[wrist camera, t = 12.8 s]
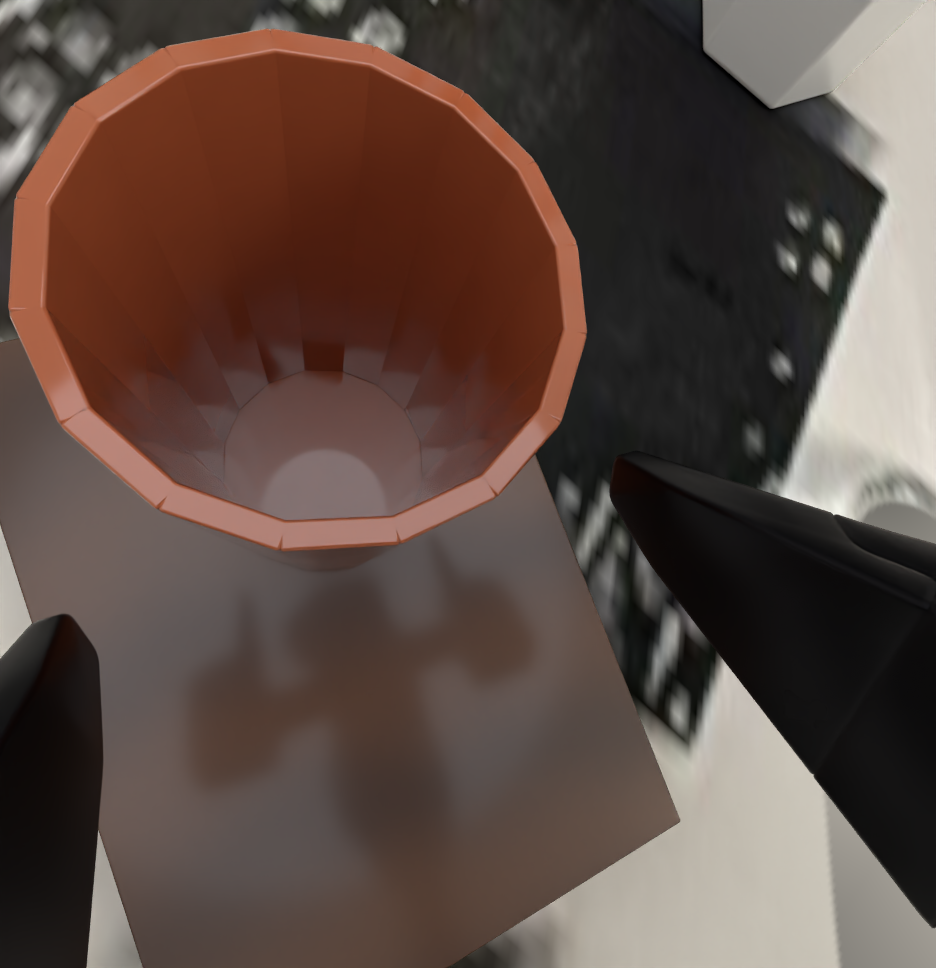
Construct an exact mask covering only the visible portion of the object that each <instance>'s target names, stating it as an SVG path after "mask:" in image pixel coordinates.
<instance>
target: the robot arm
mask: <svg viewBox="0 0 936 968" xmlns="http://www.w3.org/2000/svg"><path fill="white" fill-rule="evenodd" d="M610 498H611V501H612V503H613V505H614V507H615V508H616V510H617V512H618V513H619V515H620V517H621V518H622V520H623V521H624V523H625V525H626V526H627V528H628V530H629V531H630V533H631V534H632V536H633V538H634V539H635V541H636V543H637V544H638V546H639V548H640V549H641V551H642V552H643V554H644V556H645V557H646V559H647V560H648V562H649V563H650V565H651V566H652V568H653V569H654V570H655V572H656V573H657V574H658V576H659V577H660V578H661V580H662V581H663V582H664V584H665V585H666V586H667V587H668V589H669V590H670V591H671V593H672V594H673V595H674V597H675V598H676V599H677V600H678V602H679V603H680V604H681V606H682V607H683V608H684V609H685V611H686V612H687V613H688V615H689V616H690V617H691V619H692V620H693V621H694V622H695V624H696V625H697V626H698V628H699V629H700V630H701V631H702V633H703V634H704V635H705V637H706V638H707V639H708V641H709V642H710V643H711V644H712V646H713V647H714V648H715V650H716V651H717V652H718V653H719V655H720V656H721V657H722V659H723V660H724V661H725V663H726V664H727V665H728V666H729V668H730V669H731V670H732V672H733V673H734V674H735V675H736V677H737V678H738V679H739V681H740V682H741V683H742V685H743V686H744V687H745V688H746V690H747V691H748V692H749V694H750V695H751V696H752V697H753V699H754V700H755V701H756V703H757V704H758V705H759V707H760V708H761V709H762V710H763V712H764V713H765V714H766V716H767V717H768V718H769V719H770V721H771V722H772V723H773V725H774V726H775V727H776V729H777V730H778V731H779V732H780V734H781V735H782V736H783V738H784V739H785V740H786V742H787V743H788V744H789V745H790V747H791V748H792V749H793V751H794V752H795V753H796V754H797V756H798V757H799V758H800V760H801V761H802V762H803V764H804V765H805V766H806V767H807V769H808V770H809V771H810V773H811V774H814V778H815V780H816V781H817V782H818V783H819V785H820V786H821V787H822V789H823V790H824V791H825V792H826V794H827V795H828V796H829V798H830V799H831V800H832V801H833V803H834V804H835V805H836V807H837V808H838V809H839V811H840V812H841V813H842V814H843V816H844V817H845V818H846V819H847V821H848V822H849V824H850V825H851V826H852V827H853V828H854V830H855V831H856V833H857V834H858V835H859V836H860V838H861V839H862V840H863V842H864V843H865V844H866V845H867V847H868V848H869V849H870V851H871V852H872V853H873V855H874V856H875V857H876V858H877V860H878V861H879V862H880V864H881V865H882V866H883V867H884V869H885V870H886V871H887V873H888V874H889V875H890V876H891V878H892V879H893V880H894V882H895V883H896V884H897V886H898V887H899V888H900V890H901V891H902V892H903V893H904V895H905V896H906V897H907V899H908V900H909V901H910V903H911V904H912V905H913V906H914V907H915V909H916V910H917V911H918V913H919V914H920V915H921V916H922V918H923V919H924V920H925V921H926V922H927V923H928V924H929V925H930V926H931V927H932V928H936V544H935V543H931V542H927V541H924V540H920V539H917V538H913V537H910V536H906V535H902V534H899V533H895V532H891V531H888V530H885V529H882V528H878V527H875V526H872V525H869V524H865V523H862V522H859V521H856V520H853V519H850V518H846V517H843V516H840V515H833V514H832V513H831V512H828V511H824V510H821V509H818V508H815V507H812V506H809V505H806V504H803V503H799V502H796V501H793V500H790V499H787V498H784V497H781V496H777V495H774V494H771V493H768V492H765V491H762V490H759V489H756V488H752V487H749V486H746V485H743V484H740V483H737V482H734V481H731V480H727V479H724V478H721V477H718V476H715V475H712V474H709V473H706V472H703V471H699V470H696V469H693V468H690V467H687V466H684V465H681V464H678V463H674V462H671V461H668V460H665V459H662V458H659V457H656V456H653V455H649V454H646V453H643V452H640V451H632V452H628V453H625V454H621V455H619V456H617V457H616V458H615V460H614V463H613V469H612V476H611V483H610ZM103 761H104V759H103V729H102V708H101V687H100V666H99V658H98V654H97V652H96V649H95V647H94V646H93V644H92V643H91V642H90V640H89V639H88V637H87V636H86V635H85V633H84V632H83V630H82V629H81V627H80V626H79V625H78V623H77V622H76V620H75V619H74V618H73V617H72V616H71V615H69V614H64V613H63V614H59V615H55V616H51V617H48V618H44V619H41V620H38V621H36V622H34V623H32V624H31V625H30V626H29V627H28V628H27V629H26V630H25V631H24V633H23V634H22V635H21V636H20V637H19V638H18V639H17V641H16V642H15V643H14V644H13V645H12V646H11V647H10V648H9V650H8V651H7V652H6V653H5V654H4V655H3V656H2V657H1V659H0V968H86V966H87V954H88V943H89V931H90V919H91V908H92V896H93V884H94V872H95V861H96V849H97V837H98V826H99V814H100V802H101V791H102V779H103Z"/></svg>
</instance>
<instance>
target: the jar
mask: <svg viewBox="0 0 936 968" xmlns="http://www.w3.org/2000/svg"><path fill="white" fill-rule="evenodd" d="M926 1H927V0H702V6H703V50H704V52H705V53H706V54H707V55H708V56H709V57H711V58H712V59H713V60H714V61H715V62H716V63H718V64H719V65H720V66H721V67H722V68H723V69H725V70H726V71H727V72H728V73H729V74H730V75H732V76H733V77H734V78H735V79H736V80H737V81H738V82H740V83H741V84H742V85H743V86H744V87H745V88H746V89H748V90H749V91H750V92H751V93H752V94H753V95H755V96H756V97H757V98H758V99H759V100H760V101H761V102H762V103H764V104H765V105H766V106H767V107H768V108H770V109H774V108H777V107H781V106H784V105H788V104H791V103H795V102H798V101H802V100H805V99H809V98H812V97H816V96H819V95H823V94H826V93H830V92H832V91H834V90H835V89H836V88H837V87H838V86H839V85H840V84H841V83H842V82H843V81H844V80H845V79H846V78H848V77H849V76H850V75H851V74H852V73H853V72H854V71H855V70H856V69H857V68H858V67H859V66H860V65H861V64H862V63H863V62H864V61H865V60H866V59H867V58H868V57H869V56H870V55H871V54H872V53H873V52H874V51H875V50H877V49H878V48H879V47H880V46H881V45H882V44H883V43H884V42H885V41H886V40H887V39H888V38H889V37H890V36H891V35H892V34H893V33H894V32H895V31H896V30H897V29H898V28H899V27H900V26H901V25H902V24H903V23H905V22H906V21H907V20H908V19H909V18H910V17H911V16H912V15H913V14H914V13H915V12H916V11H917V10H918V9H919V8H920V7H921V6H922V5H923V4H924V3H925V2H926Z"/></svg>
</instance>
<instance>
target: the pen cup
mask: <svg viewBox="0 0 936 968" xmlns="http://www.w3.org/2000/svg"><path fill="white" fill-rule="evenodd" d="M16 197H17V198H16V199H15V202H14V219H13V237H12V254H11V271H10V288H9V306H8V309H9V311H10V318H11V320H12V322H13V324H14V326H15V329H16V331H17V333H18V335H19V338H20V340H21V342H22V344H23V346H24V349H25V351H26V353H27V355H28V358H29V360H30V362H31V364H32V366H33V369H34V371H35V373H36V375H37V378H38V380H39V382H40V384H41V386H42V389H43V391H44V393H45V395H46V398H47V400H48V402H49V404H50V406H51V409H52V411H53V413H54V415H55V418H56V420H57V422H58V423H59V424H61V427H62V428H63V429H64V430H65V431H66V432H67V433H68V434H69V435H71V436H72V437H73V438H74V439H75V440H76V441H77V442H79V443H80V444H81V445H82V446H83V447H84V448H86V449H87V450H88V451H89V452H90V453H91V454H92V455H94V456H95V457H96V458H97V459H98V460H99V461H100V462H102V463H103V464H104V465H105V466H106V467H107V468H108V469H110V470H111V471H112V472H113V473H114V474H115V475H117V476H118V477H119V478H120V479H121V480H122V481H123V482H125V483H126V484H127V485H128V486H129V487H130V488H131V489H133V490H134V491H135V492H136V493H137V494H138V495H139V496H141V497H142V498H143V499H144V500H145V501H146V502H148V503H149V504H150V505H151V506H152V507H153V508H155V509H157V510H159V511H160V512H162V513H164V514H166V515H169V516H171V517H173V518H176V519H178V520H180V521H183V522H185V523H187V524H190V525H192V526H194V527H197V528H199V529H201V530H204V531H206V532H208V533H211V534H213V535H215V536H217V537H220V538H222V539H224V540H227V541H229V542H231V543H234V544H236V545H238V546H241V547H243V548H245V549H248V550H250V551H252V552H255V553H257V554H259V555H262V556H264V557H266V558H269V559H272V560H275V561H278V562H281V563H284V564H287V565H290V566H293V567H296V568H299V569H302V570H305V571H319V570H335V569H349V568H354V567H356V566H358V565H360V564H362V563H364V562H367V561H369V560H371V559H373V558H375V557H377V556H379V555H381V554H383V553H385V552H387V551H389V550H391V549H393V548H395V547H398V546H400V545H402V544H404V543H406V542H408V541H410V540H412V539H414V538H416V537H418V536H420V535H422V534H424V533H426V532H428V531H430V530H433V529H435V528H437V527H439V526H441V525H443V524H445V523H447V522H449V521H451V520H453V519H455V518H457V517H459V516H461V515H463V514H466V513H468V512H470V511H472V510H474V509H476V508H478V507H480V506H482V505H484V504H486V503H488V502H490V501H492V500H494V499H495V498H496V497H498V496H500V494H501V493H502V492H503V491H504V490H505V489H506V487H507V486H508V485H509V484H510V483H511V482H512V480H513V479H514V478H515V477H516V476H517V475H518V473H519V472H520V471H521V470H522V469H523V468H524V466H525V465H526V464H527V463H528V462H529V461H530V459H531V458H532V457H533V456H534V455H535V454H536V452H537V451H538V450H539V449H540V448H541V446H542V445H543V444H544V443H545V442H546V441H547V439H548V438H549V437H550V436H551V435H552V434H553V432H554V431H555V430H556V429H557V428H558V427H559V424H560V422H561V421H562V418H563V415H564V411H565V408H566V405H567V401H568V398H569V395H570V391H571V388H572V385H573V381H574V378H575V374H576V371H577V368H578V364H579V361H580V358H581V354H582V351H583V347H584V344H585V341H586V333H587V329H586V320H585V311H584V301H583V292H582V283H581V274H580V265H579V255H578V247H577V245H576V241H575V239H574V237H573V235H572V233H571V231H570V229H569V227H568V225H567V223H566V221H565V219H564V217H563V215H562V213H561V211H560V209H559V207H558V205H557V203H556V201H555V199H554V197H553V195H552V193H551V191H550V189H549V187H548V185H547V183H546V181H545V179H544V177H543V175H542V173H541V171H540V169H539V167H538V165H537V163H536V162H534V160H533V158H532V157H531V156H530V155H529V154H528V153H527V152H526V151H525V150H524V149H523V148H522V147H521V146H520V145H519V144H518V143H517V142H516V141H515V140H514V139H513V138H512V137H511V136H510V135H509V134H508V133H507V132H506V131H505V130H504V129H503V128H502V127H501V126H500V125H499V124H498V123H497V122H495V121H494V120H493V119H492V118H491V117H490V116H489V115H488V114H487V113H486V112H485V111H484V110H483V109H482V108H481V107H480V106H479V105H478V104H477V103H476V102H475V101H474V100H473V99H472V98H471V97H470V96H469V95H468V94H467V93H465V94H464V91H463V90H461V89H459V88H457V87H455V86H453V85H451V84H449V83H447V82H445V81H443V80H441V79H439V78H437V77H435V76H433V75H431V74H429V73H428V72H426V71H424V70H422V69H420V68H418V67H416V66H414V65H412V64H410V63H408V62H406V61H404V60H402V59H400V58H398V57H396V56H394V55H392V54H390V53H388V52H386V51H384V50H382V49H381V48H379V47H373V46H372V45H370V44H364V43H357V42H351V41H345V40H339V39H333V38H327V37H321V36H315V35H309V34H303V33H297V32H291V31H284V30H278V29H271V31H270V30H269V29H262V30H256V31H250V32H244V33H239V34H233V35H227V36H222V37H216V38H210V39H204V40H199V41H193V42H187V43H182V44H176V45H170V46H166V47H165V49H164V48H161V49H159V50H157V51H156V52H154V53H153V54H151V55H150V56H148V57H146V58H145V59H143V60H142V61H140V62H138V63H137V64H135V65H134V66H132V67H130V68H129V69H127V70H126V71H124V72H122V73H121V74H119V75H118V76H116V77H115V78H113V79H111V80H110V81H108V82H107V83H105V84H103V85H102V86H100V87H99V88H97V89H95V90H94V91H92V92H91V93H89V94H88V95H86V96H84V97H83V98H81V99H80V100H78V101H76V102H75V103H74V106H71V107H70V109H69V110H68V112H67V113H66V115H65V117H64V118H63V120H62V122H61V123H60V125H59V126H58V128H57V130H56V131H55V133H54V134H53V136H52V138H51V139H50V141H49V143H48V144H47V146H46V147H45V149H44V151H43V152H42V154H41V155H40V157H39V159H38V160H37V162H36V164H35V165H34V167H33V168H32V170H31V172H30V173H29V175H28V176H27V178H26V180H25V181H24V183H23V185H22V186H21V188H20V189H19V191H18V193H17V195H16Z"/></svg>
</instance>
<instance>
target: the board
mask: <svg viewBox="0 0 936 968" xmlns="http://www.w3.org/2000/svg"><path fill="white" fill-rule="evenodd" d="M0 525H1V528H2V531H3V534H4V538H5V541H6V544H7V547H8V550H9V553H10V556H11V559H12V562H13V565H14V569H15V572H16V575H17V578H18V581H19V584H20V587H21V590H22V593H23V597H24V600H25V603H26V606H27V609H28V612H29V615H30V618H31V621H32V623H34V622H36V621H38V620H41V619H44V618H48V617H51V616H55V615H59V614H63V613H64V614H69V615H71V616H72V617H73V618H74V619H75V620H76V622H77V623H78V625H79V626H80V627H81V629H82V630H83V632H84V633H85V635H86V636H87V637H88V639H89V640H90V642H91V643H92V644H93V646H94V647H95V649H96V652H97V654H98V658H99V666H100V687H101V708H102V729H103V759H104V761H103V779H102V791H101V802H100V814H99V826H98V829H99V832H100V836H101V839H102V842H103V845H104V848H105V851H106V854H107V857H108V860H109V864H110V867H111V870H112V873H113V876H114V879H115V882H116V885H117V888H118V891H119V895H120V898H121V901H122V904H123V907H124V910H125V913H126V916H127V919H128V922H129V926H130V929H131V932H132V935H133V938H134V941H135V944H136V947H137V950H138V954H139V957H140V960H141V963H142V966H143V968H448V967H450V966H451V965H453V964H454V963H456V962H458V961H459V960H461V959H462V958H464V957H466V956H467V955H469V954H470V953H472V952H473V951H475V950H477V949H478V948H480V947H481V946H483V945H485V944H486V943H488V942H489V941H491V940H493V939H494V938H496V937H497V936H499V935H501V934H502V933H504V932H505V931H507V930H509V929H510V928H512V927H513V926H515V925H516V924H518V923H520V922H521V921H523V920H524V919H526V918H528V917H529V916H531V915H532V914H534V913H536V912H537V911H539V910H540V909H542V908H544V907H545V906H547V905H548V904H550V903H552V902H553V901H555V900H556V899H558V898H560V897H561V896H563V895H564V894H566V893H567V892H569V891H571V890H572V889H574V888H575V887H577V886H579V885H580V884H582V883H583V882H585V881H587V880H588V879H590V878H591V877H593V876H595V875H596V874H598V873H599V872H601V871H603V870H604V869H606V868H607V867H609V866H611V865H612V864H614V863H615V862H617V861H618V860H620V859H622V858H623V857H625V856H626V855H628V854H630V853H631V852H633V851H634V850H636V849H638V848H639V847H641V846H642V845H644V844H646V843H647V842H649V841H650V840H652V839H654V838H655V837H657V836H658V835H660V834H662V833H663V832H665V831H666V830H668V829H669V828H671V827H673V826H674V825H676V824H677V823H679V822H680V818H679V816H678V813H677V811H676V808H675V806H674V803H673V801H672V798H671V796H670V793H669V791H668V788H667V786H666V783H665V781H664V778H663V776H662V773H661V771H660V768H659V765H658V763H657V760H656V758H655V755H654V753H653V750H652V748H651V745H650V743H649V740H648V738H647V735H646V733H645V730H644V728H643V725H642V723H641V720H640V718H639V715H638V713H637V710H636V708H635V705H634V702H633V700H632V697H631V695H630V692H629V690H628V687H627V685H626V682H625V680H624V677H623V675H622V672H621V670H620V667H619V665H618V662H617V660H616V657H615V655H614V652H613V650H612V647H611V644H610V642H609V639H608V637H607V634H606V632H605V629H604V627H603V624H602V622H601V619H600V617H599V614H598V612H597V609H596V607H595V604H594V602H593V599H592V597H591V594H590V592H589V589H588V587H587V584H586V581H585V579H584V576H583V574H582V571H581V569H580V566H579V564H578V561H577V559H576V556H575V554H574V551H573V549H572V546H571V544H570V541H569V539H568V536H567V534H566V531H565V529H564V526H563V524H562V521H561V518H560V516H559V513H558V511H557V508H556V506H555V503H554V501H553V498H552V496H551V493H550V491H549V488H548V486H547V483H546V481H545V478H544V476H543V473H542V471H541V468H540V466H539V463H538V460H537V458H536V455H534V456H533V457H532V458H531V459H530V461H529V462H528V463H527V464H526V465H525V466H524V468H523V469H522V470H521V471H520V472H519V473H518V475H517V476H516V477H515V478H514V479H513V480H512V482H511V483H510V484H509V485H508V486H507V487H506V489H505V490H504V491H503V492H502V493H501V494H500V496H498V497H496V498H495V499H494V500H492V501H490V502H488V503H486V504H484V505H482V506H480V507H478V508H476V509H474V510H472V511H470V512H468V513H466V514H463V515H461V516H459V517H457V518H455V519H453V520H451V521H449V522H447V523H445V524H443V525H441V526H439V527H437V528H435V529H433V530H430V531H428V532H426V533H424V534H422V535H420V536H418V537H416V538H414V539H412V540H410V541H408V542H406V543H404V544H402V545H400V546H398V547H395V548H393V549H391V550H389V551H387V552H385V553H383V554H381V555H379V556H377V557H375V558H373V559H371V560H369V561H367V562H364V563H362V564H360V565H358V566H356V567H354V568H349V569H335V570H319V571H305V570H302V569H299V568H296V567H293V566H290V565H287V564H284V563H281V562H278V561H275V560H272V559H269V558H266V557H264V556H262V555H259V554H257V553H255V552H252V551H250V550H248V549H245V548H243V547H241V546H238V545H236V544H234V543H231V542H229V541H227V540H224V539H222V538H220V537H217V536H215V535H213V534H211V533H208V532H206V531H204V530H201V529H199V528H197V527H194V526H192V525H190V524H187V523H185V522H183V521H180V520H178V519H176V518H173V517H171V516H169V515H166V514H164V513H162V512H160V511H159V510H157V509H155V508H153V507H152V506H151V505H150V504H149V503H148V502H146V501H145V500H144V499H143V498H142V497H141V496H139V495H138V494H137V493H136V492H135V491H134V490H133V489H131V488H130V487H129V486H128V485H127V484H126V483H125V482H123V481H122V480H121V479H120V478H119V477H118V476H117V475H115V474H114V473H113V472H112V471H111V470H110V469H108V468H107V467H106V466H105V465H104V464H103V463H102V462H100V461H99V460H98V459H97V458H96V457H95V456H94V455H92V454H91V453H90V452H89V451H88V450H87V449H86V448H84V447H83V446H82V445H81V444H80V443H79V442H77V441H76V440H75V439H74V438H73V437H72V436H71V435H69V434H68V433H67V432H66V431H65V430H64V429H63V428H62V427H61V424H59V423H58V422H57V420H56V418H55V415H54V413H53V411H52V409H51V406H50V404H49V402H48V400H47V398H46V395H45V393H44V391H43V389H42V386H41V384H40V382H39V380H38V378H37V375H36V373H35V371H34V369H33V366H32V364H31V362H30V360H29V358H28V355H27V353H26V351H25V349H24V346H23V344H22V342H21V340H20V338H18V339H14V340H9V341H5V342H1V343H0Z"/></svg>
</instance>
